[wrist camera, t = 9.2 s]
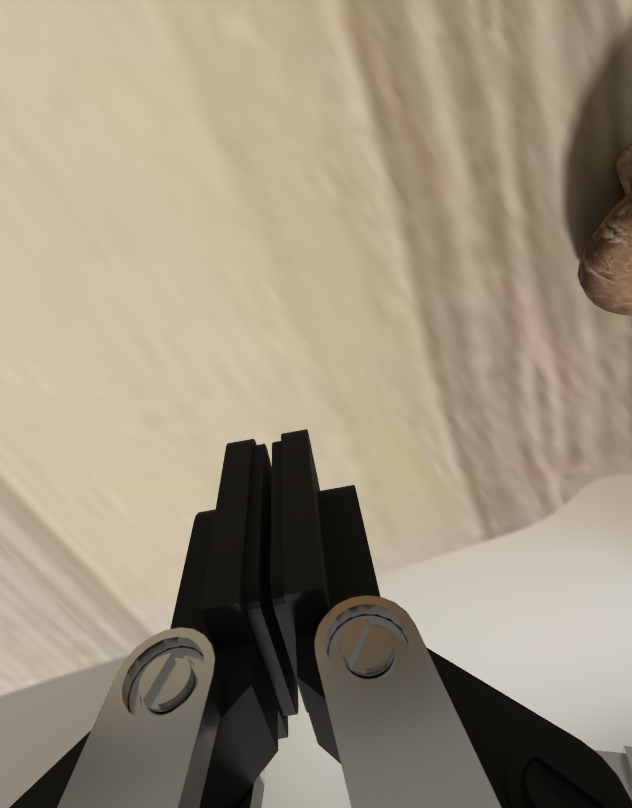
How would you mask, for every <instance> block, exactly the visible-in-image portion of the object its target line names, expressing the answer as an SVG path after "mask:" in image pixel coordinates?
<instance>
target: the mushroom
mask: <svg viewBox="0 0 632 808" xmlns="http://www.w3.org/2000/svg"><path fill="white" fill-rule="evenodd" d="M616 172H617V175H618V177H619V179H620V182H621V184H622V187H623V189H624V192H625V195H626V197H625V198H624V199H623V200H622V201H620V202H619V203H618V204H617V205H616V206H615V207H614V208H613V209H612V210H611V212H610V213H609V214H608V216H607V217H606V218H605V219H604V221H603V222H602V223H601V225H600V226H599V227H598V229H597V230H596V231H595V232H594V234H593V235H592V236H591V238H590V239H589V240H588V241H587V243H586V246H585V249H584V252H583V255H582V258H581V261H580V264H579V269H578V278H579V281H580V284H581V286H582V288H583V290H584V292H585V293H586V295H587V297H588V298H589V299H590V300H591V301H592V302H593V303H594V304H595V305H597V306H598V307H600V308H602V309H604V310H606V311H609V312H613V313H616V314H622V315H630V316H632V144H631V145H629V146H627V148H626V149H625V150H624V151H623V153H622V154H621V155H620V156H619V157H618V159H617V166H616Z"/></svg>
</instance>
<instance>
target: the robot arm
mask: <svg viewBox="0 0 632 808" xmlns="http://www.w3.org/2000/svg"><path fill="white" fill-rule="evenodd" d="M298 686H299V690H300V693H301V696H302V699H303V702H304V705H305V709H306V711H307V712H308V713H309V716H310V719H311V723H312V726H313V729H314V732H315V735H316V738H317V742H318V744H319V745H320V746H321V747H322V748H323V749H325V750H326V751H327V752H328V753H329V754H330V755H331V756H332V757H333V758H335V759H336V760H337V761H338V762H339V763H340V764H341V765H342V769H343V773H344V778H345V782H346V786H347V790H348V794H349V799H350V802H351V807H352V808H632V747H627V746H624V747H623V750H622V753H616V752H604V751H595V750H593V749H591V748H590V747H588V746H587V745H586V744H585V743H583V742H582V741H581V740H579V739H578V738H576V737H574V736H573V735H571V734H569V733H567V732H566V731H564V730H563V729H561V728H559V727H558V726H556V725H554V724H553V723H551V722H549V721H548V720H546V719H544V718H543V717H541V716H539V715H537V714H536V713H534V712H533V711H531V710H529V709H528V708H526V707H524V706H523V705H521V704H519V703H518V702H516V701H514V700H513V699H511V698H509V697H508V696H506V695H504V694H503V693H501V692H499V691H498V690H496V689H494V688H493V687H491V686H490V685H488V684H486V683H484V682H483V681H481V680H480V679H478V678H476V677H474V676H473V675H471V674H469V673H468V672H466V671H465V670H463V669H461V668H460V667H458V666H456V665H455V664H453V663H451V662H450V661H448V660H446V659H445V658H443V657H441V656H440V655H438V654H436V653H435V652H433V651H431V650H430V649H428V648H426V646H425V644H424V642H423V640H422V638H421V636H420V633H419V631H418V629H417V627H416V625H415V623H414V622H413V620H412V619H411V617H410V616H409V614H408V613H407V612H406V611H405V610H404V609H403V608H401V607H400V606H399V605H397V604H396V603H395V602H392V601H390V600H388V599H385V598H382V597H380V593H379V589H378V585H377V580H376V576H375V572H374V567H373V563H372V558H371V554H370V550H369V545H368V541H367V537H366V532H365V528H364V524H363V519H362V515H361V511H360V506H359V502H358V497H357V493H356V489H355V486H354V485H351V486H346V487H340V488H334V489H329V490H323V491H320V488H319V483H318V478H317V473H316V468H315V463H314V458H313V454H312V449H311V444H310V439H309V434H308V430H307V429H306V430H300V431H295V432H289V433H284V434H281V441H278V442H273V443H272V466H271V463H270V459H269V455H268V451H267V448H266V445H265V444H261V445H256V442H255V440H254V439H250V440H245V441H239V442H233V443H228V444H227V446H226V451H225V457H224V463H223V469H222V475H221V481H220V487H219V493H218V499H217V505H216V510H210V511H204V512H199V513H198V514H197V515H196V517H195V520H194V524H193V529H192V533H191V538H190V542H189V547H188V551H187V556H186V561H185V565H184V570H183V574H182V579H181V583H180V588H179V592H178V597H177V602H176V606H175V611H174V615H173V620H172V624H171V629H169V630H165V631H162V632H160V633H158V634H156V635H154V636H151V637H150V638H148V639H147V640H146V641H144V642H143V643H142V644H140V645H139V646H137V647H136V648H135V649H134V651H133V652H132V653H131V654H130V655H129V656H128V657H127V658H126V659H125V660H124V662H123V664H122V666H121V667H120V669H119V671H118V672H117V674H116V676H115V678H114V680H113V682H112V685H111V687H110V690H109V692H108V694H107V696H106V698H105V701H104V703H103V705H102V707H101V710H100V712H99V714H98V716H97V719H96V721H95V723H94V726H93V728H92V730H91V731H90V732H89V733H88V734H87V735H86V736H85V737H83V738H82V739H81V740H80V741H79V742H78V743H77V744H76V745H75V746H74V747H73V748H72V749H71V750H70V751H69V752H68V753H67V754H66V755H64V756H63V757H62V758H61V759H60V760H59V761H58V762H57V763H56V764H55V765H54V766H53V767H52V768H51V769H50V770H49V771H48V772H47V773H46V774H44V776H42V777H41V778H40V779H39V780H38V781H37V782H36V783H35V784H34V785H33V786H32V787H31V788H30V789H29V790H28V791H26V792H25V793H24V794H23V795H22V796H21V797H20V798H19V799H18V800H17V801H16V802H15V803H14V804H13V805H12V806H11V807H10V808H261V806H262V799H263V792H264V778H265V777H264V776H265V769H264V768H265V767H266V766H267V764H268V763H269V762H270V761H271V759H272V758H273V757H274V755H275V754H276V753H277V751H278V739H280V738H286V737H288V716H290V715H295V714H298Z"/></svg>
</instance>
